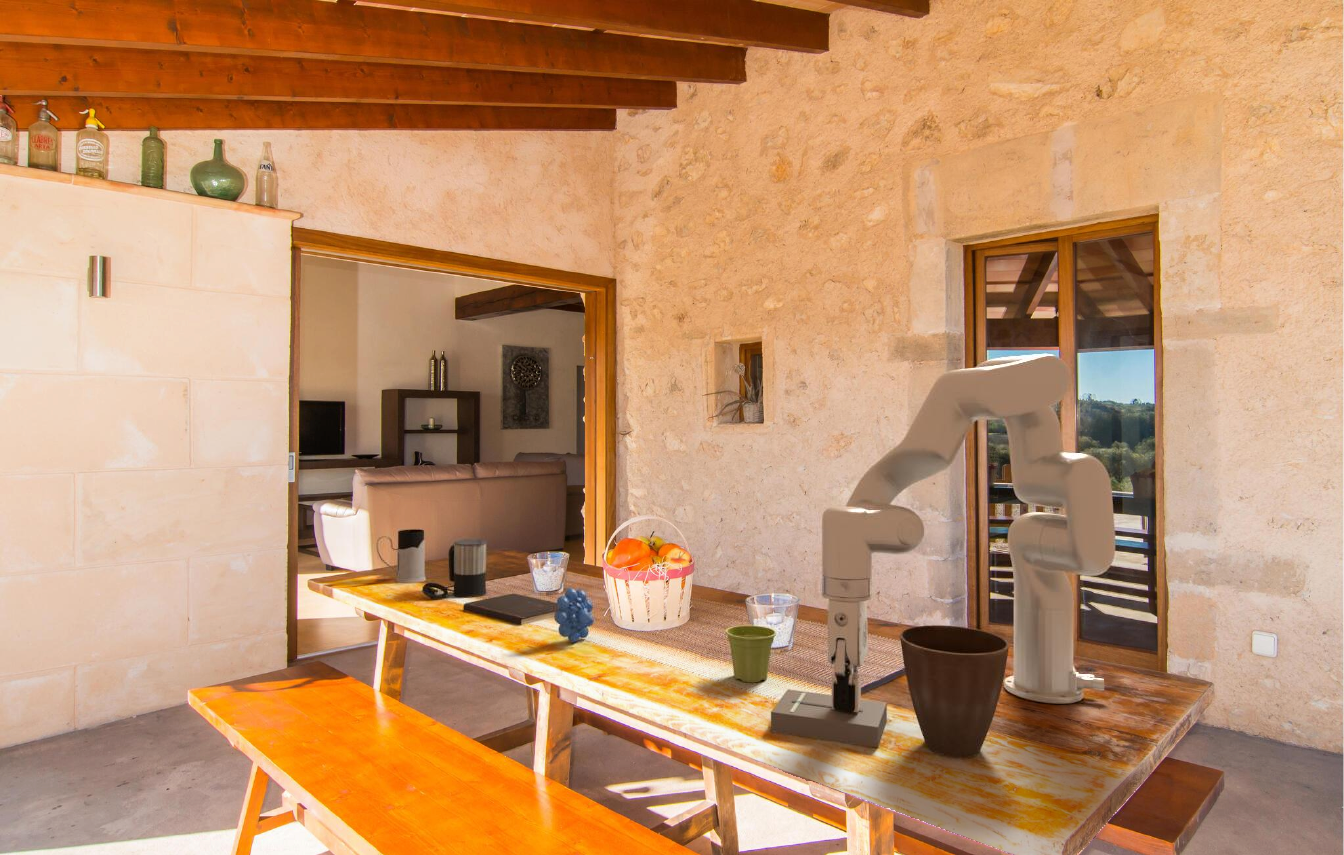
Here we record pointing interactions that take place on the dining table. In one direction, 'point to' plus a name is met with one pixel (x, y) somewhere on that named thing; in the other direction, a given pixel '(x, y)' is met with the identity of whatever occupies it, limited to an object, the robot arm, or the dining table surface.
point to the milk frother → (464, 570)
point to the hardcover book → (513, 608)
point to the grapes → (574, 614)
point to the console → (828, 719)
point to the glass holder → (409, 556)
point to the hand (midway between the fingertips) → (846, 704)
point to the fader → (857, 690)
